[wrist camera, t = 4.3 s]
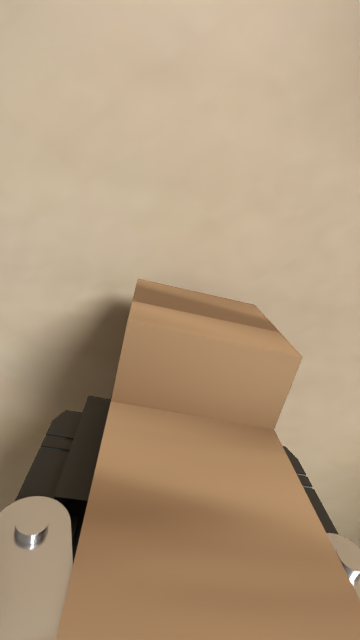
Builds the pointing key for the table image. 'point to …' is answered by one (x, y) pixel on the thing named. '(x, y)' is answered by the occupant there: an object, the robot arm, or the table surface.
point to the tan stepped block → (202, 490)
